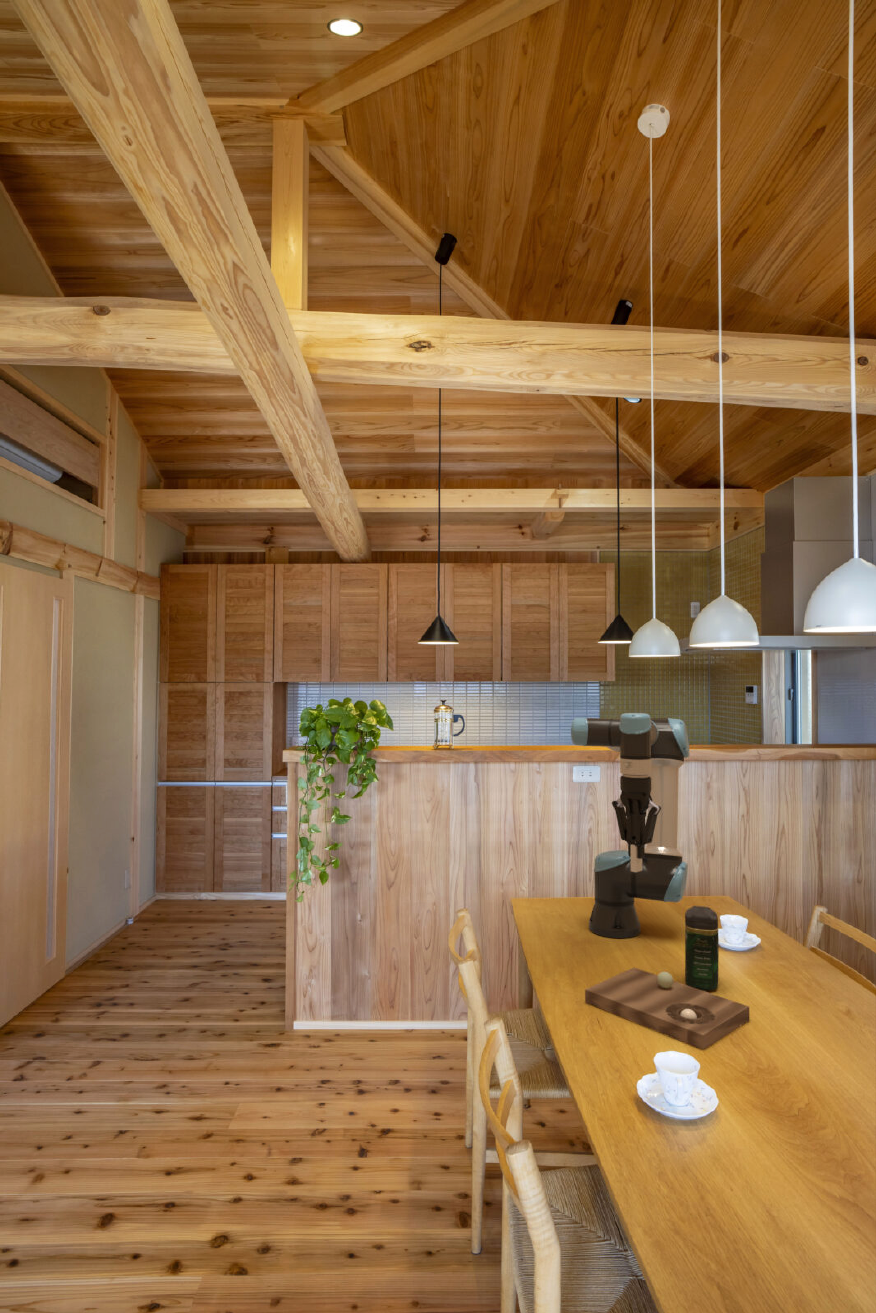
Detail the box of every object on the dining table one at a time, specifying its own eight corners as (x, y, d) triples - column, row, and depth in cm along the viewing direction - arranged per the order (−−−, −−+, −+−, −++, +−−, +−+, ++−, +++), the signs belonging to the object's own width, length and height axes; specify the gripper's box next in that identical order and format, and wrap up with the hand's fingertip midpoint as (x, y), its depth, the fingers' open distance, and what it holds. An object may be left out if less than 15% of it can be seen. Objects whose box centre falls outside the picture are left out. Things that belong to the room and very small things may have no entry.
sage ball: (654, 987, 178) (654, 971, 178) (662, 983, 180) (662, 968, 180) (667, 992, 175) (667, 976, 175) (676, 987, 177) (676, 972, 177)
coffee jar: (719, 994, 181) (718, 916, 181) (684, 989, 183) (684, 913, 184) (718, 978, 190) (717, 905, 190) (685, 974, 192) (684, 902, 193)
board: (585, 1002, 176) (584, 989, 176) (634, 979, 190) (633, 967, 190) (703, 1049, 154) (703, 1035, 154) (749, 1020, 167) (749, 1006, 167)
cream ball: (693, 1016, 162) (686, 1030, 162) (703, 1016, 164) (696, 1030, 164) (681, 1005, 165) (674, 1019, 165) (690, 1004, 167) (683, 1018, 167)
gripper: (604, 774, 189) (605, 868, 189) (650, 779, 179) (650, 878, 179) (622, 771, 194) (623, 863, 193) (667, 776, 184) (668, 873, 184)
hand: (636, 870), depth 186 cm, fingers closed
